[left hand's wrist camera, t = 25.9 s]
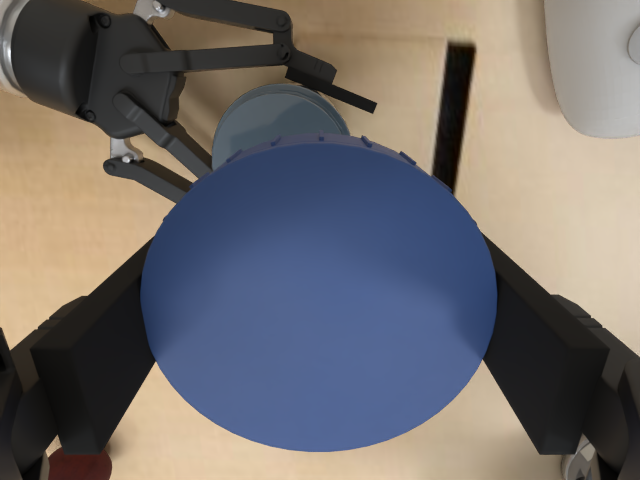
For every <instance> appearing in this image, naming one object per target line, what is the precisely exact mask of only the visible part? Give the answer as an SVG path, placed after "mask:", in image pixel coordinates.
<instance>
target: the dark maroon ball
mask: <svg viewBox="0 0 640 480" xmlns="http://www.w3.org/2000/svg"><path fill="white" fill-rule="evenodd" d="M48 461H49V466H50V468H49V475H48V480H109V479H110V476H111V472H112V461H111V459H110V457H109V456H108V454H107V452H106V451H105V450H104V449H103V450H102V452H101V454H100V455H64V452H63V449H62V447H61V448H59V449H57V450H56V451H55V452H53V453H52V454H51V455H50V456H49V457H48Z"/></svg>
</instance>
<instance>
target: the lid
mask: <svg viewBox="0 0 640 480" xmlns="http://www.w3.org/2000/svg"><path fill="white" fill-rule="evenodd" d="M189 187H190V188H191V190H190V191H188V192H187V193H186V194H185V195H184V196H183V197H182V198H181V200H180V201H179V202H178V203H177V204H176V205H175V206H174V207H173V209H172V210H171V211H170V212H169V213H168V215H167V216H165V217H164V219H163V223H162V224H161V226H160V227H159V229H158V230H157V232H156V234H155V237H154V239H153V241H152V243H151V246H150V248H149V250H148V253H147V257H146V260H145V264H144V268H143V271H142V279H141V288H140V302H141V308H142V313H143V319H144V324H145V329H146V334H147V339H148V343H149V347H150V350H151V352H152V354H153V356H154V358H155V360H156V362H157V364H158V366H159V368H160V370H161V371H162V372H163V374H164V375H165V377H166V378H167V380H168V381H169V382H170V384H171V385H172V386H173V387H174V389H175V390H176V391H177V392H178V393H179V394H180V395H181V396H182V397H183V398H184V400H185V401H187V402H188V403H189V404H190V405H191V406H192V407H194V408H195V409H196V410H197V411H198V412H199V413H201V414H202V415H204V416H205V417H206V418H208V419H209V420H211V421H212V422H214V423H215V424H217V425H219V426H221V427H223V428H224V429H226V430H228V431H230V432H232V433H234V434H236V435H239V436H241V437H244V438H246V439H249V440H251V441H254V442H258V443H261V444H264V445H268V446H271V447H277V448H282V449H287V450H295V451H305V452H332V451H343V450H351V449H356V448H361V447H366V446H370V445H373V444H377V443H380V442H383V441H387V440H389V439H392V438H394V437H396V436H399V435H401V434H404V433H406V432H408V431H410V430H411V429H413V428H415V427H417V426H419V425H421V424H422V423H424V422H425V421H427V420H428V419H430V418H431V417H433V416H434V415H435V414H437V413H438V412H440V411H441V410H442V409H443V408H444V407H445V406H446V405H448V404H449V403H450V402H451V401H452V400H453V399H454V398H455V397H456V396H457V395H458V394H459V393H460V391H461V390H462V389H463V388H464V387H465V386H466V385H467V383H468V382H469V380H470V379H471V377H472V376H473V375H474V373H475V372H476V370H477V369H478V367H479V365H480V363H481V361H482V359H483V357H484V355H485V353H486V351H487V348H488V345H489V343H490V340H491V337H492V334H493V330H494V324H495V319H496V314H497V284H496V275H495V270H494V266H493V262H492V259H491V255H490V251H489V249H488V247H487V245H486V242H485V240H484V238H483V236H482V234H481V231H480V230H479V228H478V227H477V223H476V222H475V221H474V220H473V219H472V218H471V216H470V215H469V213H468V211H467V210H466V209H465V208H464V207H463V206H462V205H461V204H460V203H459V201H458V200H457V199H456V198H455V197H454V196H453V195H452V194H451V193H450V192H451V191H452V190H451V189H450V188H449V187H448V186H446V185H445V184H444V183H443V182H441V181H440V180H439V179H438V178H436V177H435V176H434V175H432V176H429V175H428V174H427V173H426V172H424V171H423V170H422V169H421V168H420V167H418V166H417V165H416V162H415V161H414V160H412V159H411V158H410V157H409V156H407V155H406V154H405V153H403V152H402V151H401V152H400V153H397V152H395V151H393V150H391V149H389V148H387V147H384V146H382V145H380V144H377V143H375V142H372V141H369V140H368V139H367V137H366V136H362V137H361V138H357V137H354V136H347V135H340V134H333V133H324V131H323V130H319V133H305V134H298V135H290V136H284V137H281V134H279V135H277V136H276V137H275V138H274V139H273V140H270V141H266V142H263V143H260V144H258V145H256V146H253V147H251V148H249V149H246V150H244V151H242V149H239V150H238V151H236V152H235V153H234V154H233V155H231V156H230V157H229V158H227V159H226V162H224V163H223V164H222V165H220V166H219V167H218V168H217V169H215V170H214V171H213V172H212V173H209V172H207V173H206V174H204V175H203V176H202V177H200V178H199V179H198V180H197V181H195V182H194V183H193V184H191V185H190V186H189Z"/></svg>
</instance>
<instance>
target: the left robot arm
mask: <svg viewBox="0 0 640 480" xmlns="http://www.w3.org/2000/svg"><path fill="white" fill-rule="evenodd" d="M481 234H482V236H483V238H484V240H485V242H486V245H487V247H488V249H489V251H490V255H491V259H492V262H493V266H494V270H495V275H496V284H497V314H496V319H495V324H494V330H493V334H492V337H491V340H490V343H489V345H488V348H487V351H486V353H485V355H484V357H483V360H484V362H485V364H486V365H487V367H488V369H489V370H490V372H491V374H492V375H493V377H494V379H495V381H496V382H497V384H498V386H499V387H500V389H501V391H502V392H503V394H504V396H505V397H506V399H507V401H508V402H509V404H510V406H511V407H512V409H513V411H514V412H515V414H516V416H517V417H518V419H519V421H520V422H521V424H522V426H523V427H524V429H525V431H526V432H527V434H528V436H529V437H530V439H531V441H532V442H533V444H534V446H535V448H536V449H537V451H538V453H539V454H540V455H564V456H563V459H562V465H561V470H562V475H563V478H564V480H640V357H639V356H638V355H636V354H635V353H634V352H633V351H632V350H631V349H629V348H628V347H627V346H626V345H625V344H623V343H622V342H621V341H620V340H619V339H618V338H616V337H615V336H614V335H613V334H612V333H610V332H609V331H608V330H607V329H606V328H602V325H601V324H600V323H599V322H597V321H596V320H595V319H594V318H591V316H590V315H589V314H588V313H587V312H586V311H584V310H583V309H582V308H581V307H580V306H579V305H577V304H575V303H574V302H572V301H570V300H568V299H566V298H564V297H562V296H560V295H550V294H549V293H548V292H547V291H546V290H545V289H544V288H543V287H541V286H540V285H539V284H538V283H537V282H536V281H535V280H534V279H533V278H531V277H530V276H529V275H528V274H527V273H526V272H525V271H524V270H523V269H522V268H520V267H519V266H518V265H517V264H516V263H515V262H514V261H513V260H512V259H510V258H509V257H508V256H507V255H506V254H505V253H504V252H503V251H502V250H500V249H499V248H498V247H497V246H496V245H495V244H494V243H493V242H492V241H490V240H489V239H488V238H487V237H486V236H485V235H484V234H483V233H482V232H481ZM154 237H155V236H154ZM154 237H153V238H151V239H150V240H149V241H148V242H147V243H146V244H145V245H144V246H143V247H141V248H140V249H139V250H138V251H137V252H136V253H135V254H134V255H133V256H132V257H130V258H129V259H128V260H127V261H126V262H125V263H124V264H123V265H122V266H120V267H119V268H118V269H117V270H116V271H115V272H114V273H113V274H112V275H110V276H109V277H108V278H107V279H106V280H105V281H104V282H103V283H102V284H100V285H99V286H98V287H97V288H96V289H95V290H94V291H93V292H92V293H91V294H89V295H88V296H81V297H79V298H77V299H75V300H73V301H71V302H69V303H67V304H65V305H63V306H62V307H61V308H60V309H58V310H57V311H56V312H55V313H54V314H53V315H51V316H50V317H49V320H46V321H44V322H43V323H42V324H41V325H40V326H39V327H38V329H37V330H34V331H33V332H32V333H30V334H29V335H28V336H27V337H26V338H24V339H23V340H22V341H21V342H20V343H19V344H17V345H16V346H15V347H14V348H13V349H12V350H9V347H8V344H7V341H6V339H5V336H4V333H3V330H2V328H0V480H48V475H49V468H50V466H49V461H48V457H47V454H46V451H45V450H46V449H47V448H48V446H49V445H50V444H51V442H52V441H53V440H54V438H55V437H56V436H57V434H58V437H59V440H60V443H61V446H62V449H63V452H64V455H100V454H101V452H102V450H103V449H104V447H105V445H106V444H107V442H108V440H109V439H110V437H111V435H112V434H113V432H114V430H115V429H116V427H117V425H118V424H119V422H120V420H121V419H122V417H123V415H124V414H125V412H126V410H127V409H128V407H129V405H130V404H131V402H132V400H133V399H134V397H135V395H136V393H137V392H138V390H139V388H140V387H141V385H142V383H143V382H144V380H145V378H146V377H147V375H148V373H149V372H150V370H151V368H152V367H153V365H154V363H155V362H156V360H155V358H154V356H153V354H152V352H151V350H150V347H149V343H148V339H147V334H146V329H145V324H144V319H143V313H142V308H141V302H140V288H141V279H142V271H143V268H144V264H145V260H146V257H147V253H148V250H149V248H150V246H151V243H152V241H153V239H154Z"/></svg>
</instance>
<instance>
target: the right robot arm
mask: <svg viewBox="0 0 640 480" xmlns="http://www.w3.org/2000/svg"><path fill="white" fill-rule="evenodd" d="M175 11H176V12H178V13H180V14H182V15H185V16H188V17H192V18H197V19H202V20H207V21H212V22H217V23H222V24H227V25H232V26H237V27H242V28H247V29H252V30H257V31H263V32H268V33H273V44H270V45H256V46H243V47H229V48H215V49H201V50H177V51H171V49H170V48H169V47H168V45H167V44H166V42H165V41H164V40H163V38H162V37H161V35H160V34H159V33H158V31H157V30H156V28H155V27H154V26H153V24H152V23H153V22H154V20H155V19H157V18H163V19H171V18H172V17H173V16H174V13H175ZM280 65H285V66H287V67H288V70H287V73H286V76H285V78H287V79H290V80H292V81H294V82H297V83H299V84H302V85H304V86H307V87H309V88H311V89H314V90H316V91H319V92H321V93H324V94H326V95H328V96H331V97H333V98H336V99H338V100H341V101H343V102H345V103H348V104H350V105H353V106H355V107H358V108H360V109H362V110H365V111H367V112H370V113H372V114H373V112H374V110H375V108H376V105H377V103H376V102H373V101H371V100H368V99H366V98H364V97H361V96H359V95H356V94H354V93H352V92H349V91H347V90H344V89H342V88H340V87H337V86H335V85H332V82H333V79H334V77H335V74H336V71H337V70H336V69H335V68H334V67H333V66H332V65H331V64H329V63H327V62H324V61H322V60H320V59H317V58H315V57H312V56H310V55H308V54H305V53H303V52H301V51H299V50H297V49H296V48H295V47H294V45H293V24H292V21H291V19H290V17H289V15H288V14H287V13H286V12H285V11H282V10H277V9H272V8H267V7H262V6H257V5H252V4H247V3H242V2H237V1H232V0H137V3H136V6H135V9H134V12H133V14H131V13H128V14H123V15H117V14H113V13H111V12H109V11H106V10H104V9H101V8H99V7H96V6H94V5H91V4H89V3H87V2H84V1H82V0H0V90H3V91H5V92H8V93H11V94H13V95H16V96H18V97H22V98H29V99H30V100H32V101H34V102H36V103H38V104H41V105H43V106H46V107H49V108H52V109H54V110H57V111H60V112H63V113H65V114H68V115H71V116H73V117H76V118H79V119H81V120H84V121H87V122H90V123H93V124H95V125H97V126H98V127H99V128H101V129H102V130H103V131H104V132H105V133H106V134H107V135H108V136H110V137H111V143H110V159H108V160H106V161H105V162H104V164H103V168H104V170H105V172H106V173H107V174H109V175H112V176H117V177H122V178H127V179H132V180H135V181H137V182H139V183H141V184H142V185H144V186H146V187H148V188H150V189H151V190H153V191H155V192H157V193H159V194H160V195H162V196H164V197H166V198H168V199H169V200H171V201H173V202H175V203H178V202H179V201H180V200H181V198H182V197H183V196H184V195H185V194H186V193H187V192H188V191H190V190H191V188H190V187H189V186H190V185H191V184H193V183H192V182H190V181H189V180H187V179H185V178H183V177H182V176H180V175H178V174H176V173H175V172H173V171H171V170H169V169H168V168H166V167H164V166H162V165H161V164H159V163H157V162H155V161H153V160H150V159H147V158H144V157H143V153H142V151H140V150H139V149H137V148H135V147H134V146H133V145H132V144H131V142H130V137H133V136H137V135H140V134H144V133H145V134H146V135H147V136H148V137H149V138H151V139H152V140H153V141H154V142H155V143H156V144H157V145H159V146H160V147H162V148H165V149H166V150H168V151H169V152H170V153H171V154H172V155H173V156H174V157H175V158H176V159H178V160H179V161H180V162H181V163H182V164H183V165H184V166H185V167H186V168H187V169H189V170H190V171H191V172H192V173H193V174H194V175H195V176H196V177H197V178H200V177H202V176H203V175H204V174H206V173H207V172H209V173H212V172H213V169H212V156H211V155H210V154H209V153H207V152H206V151H205V150H204V149H203V148H202V147H201V146H200V145H199V144H198V143H197V142H196V141H195V140H194V139H193V138H191V137H190V136H189V135H188V134H187V133H186V130H185V129H184V128H183V126H181V125H180V124H179V123H178V122H177V121H176V120H175V119H177V115H178V111H179V96H180V94H181V92H182V90H183V88H184V85H185V81H186V77H184V73H187V72H200V71H210V70H224V69H238V68H252V67H266V66H280Z"/></svg>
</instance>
